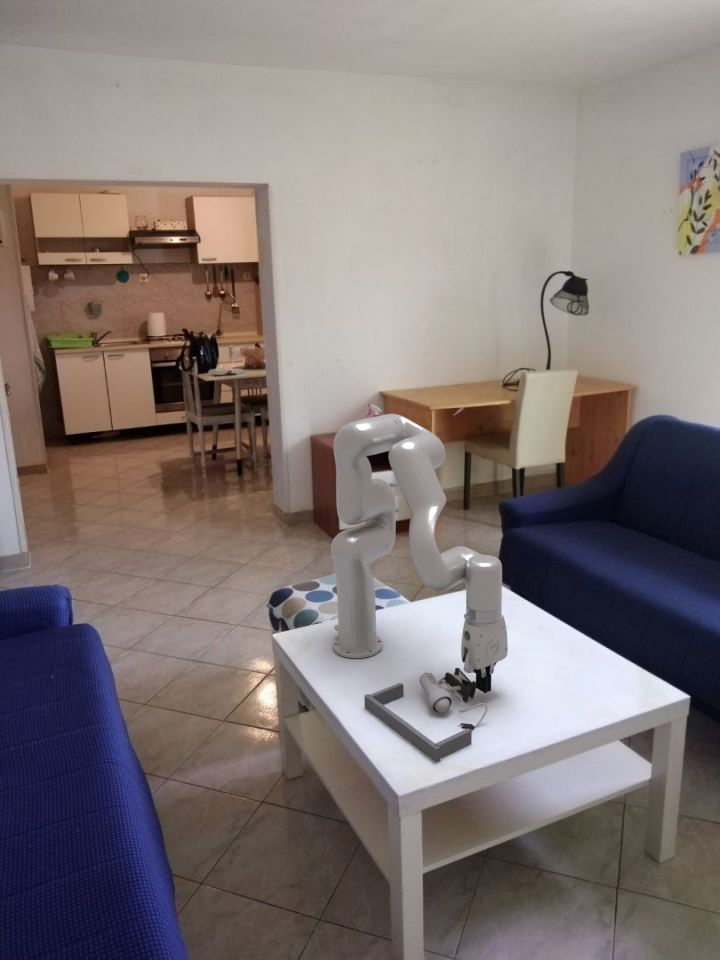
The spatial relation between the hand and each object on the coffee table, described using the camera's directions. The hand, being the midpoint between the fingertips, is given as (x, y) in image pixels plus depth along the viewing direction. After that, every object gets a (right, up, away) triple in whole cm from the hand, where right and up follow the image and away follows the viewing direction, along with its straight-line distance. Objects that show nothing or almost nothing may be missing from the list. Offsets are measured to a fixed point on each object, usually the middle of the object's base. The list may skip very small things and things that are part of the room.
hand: (483, 689), depth 161 cm
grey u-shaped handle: (-16, -5, -9) cm, 19 cm away
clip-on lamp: (-7, -3, -4) cm, 8 cm away
